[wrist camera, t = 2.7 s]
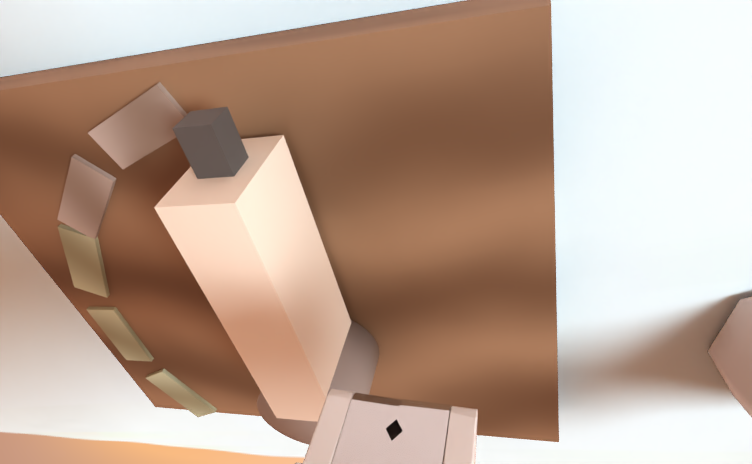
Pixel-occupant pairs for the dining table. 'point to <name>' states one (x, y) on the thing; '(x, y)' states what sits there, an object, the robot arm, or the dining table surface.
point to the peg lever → (265, 270)
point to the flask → (736, 353)
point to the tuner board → (318, 200)
